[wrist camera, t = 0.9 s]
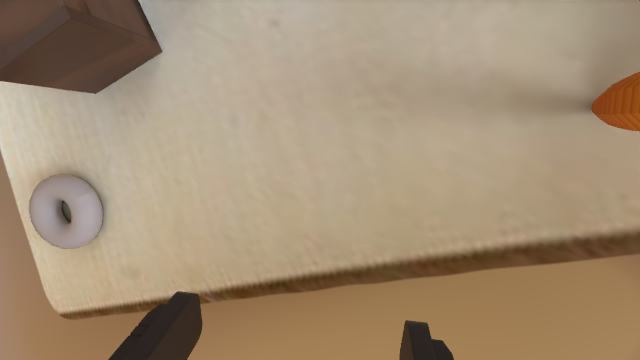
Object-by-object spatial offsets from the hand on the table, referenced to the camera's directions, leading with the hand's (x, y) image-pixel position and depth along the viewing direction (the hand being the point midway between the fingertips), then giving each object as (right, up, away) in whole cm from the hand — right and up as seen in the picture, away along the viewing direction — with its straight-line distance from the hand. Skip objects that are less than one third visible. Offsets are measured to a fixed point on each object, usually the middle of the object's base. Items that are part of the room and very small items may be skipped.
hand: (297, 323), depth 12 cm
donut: (-32, +2, +32) cm, 45 cm away
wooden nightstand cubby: (-26, +25, +27) cm, 45 cm away
